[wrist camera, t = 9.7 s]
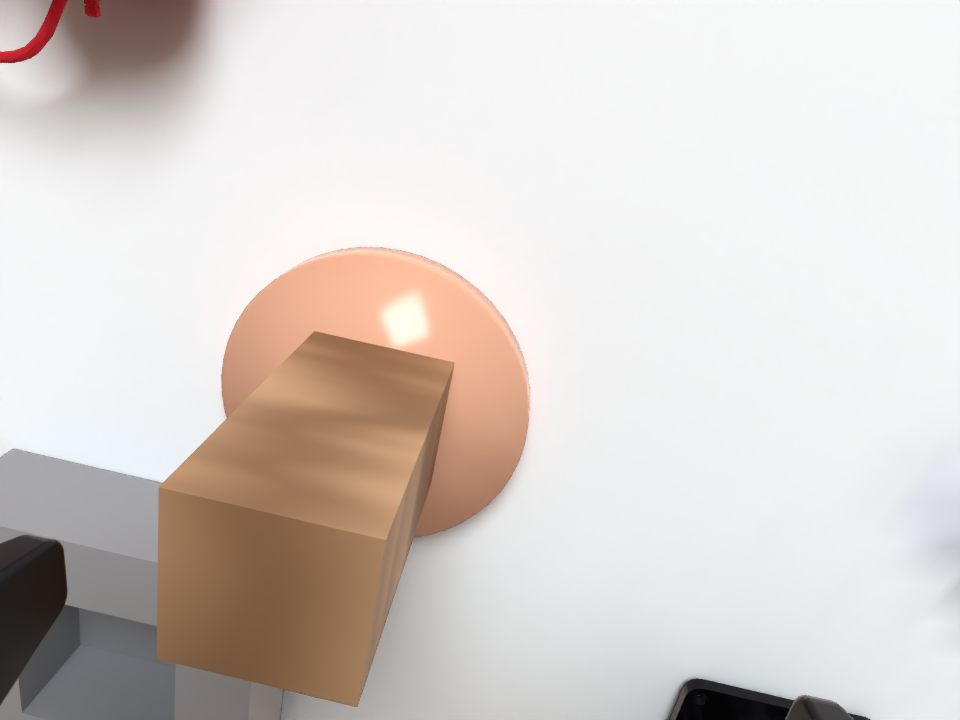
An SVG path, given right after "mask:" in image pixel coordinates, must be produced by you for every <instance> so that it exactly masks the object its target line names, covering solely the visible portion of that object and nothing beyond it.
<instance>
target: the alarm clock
mask: <svg viewBox="0 0 960 720" xmlns="http://www.w3.org/2000/svg"><path fill="white" fill-rule="evenodd" d="M66 3H67V0H53V2H52V4H51V6H50V9H49V11H48V14H47V16H46V18H45V21H44V23H43V25H42V26H41V28H40V30H39V32H38V33H37V35H36V37H35V38H34V39H32V40H31V41H30V42H29V43H28V44H27V45H26V46H25V47H22V48H20V49H17V50H14V51H6V52H0V63H15V62H21V61H24V60H27V59H30V58H32V57H33V56H35V55H36V54H38V53H39V52H40V51H41V50H42V48H43V47H44V46H45V45H46V44H47V42H48V41H49V40H50V39H51V37H52V36H53V34H54V32H55V29H56V27H57V24H58V22H59V20H60V17H61V15H62V12H63V10H64V8H65V5H66ZM84 3H85V4H86V5H85V13H86V14H87V15H88V16H89V17H95V18H97V17H99V16H100V8H99V0H84Z"/></svg>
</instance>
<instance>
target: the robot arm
mask: <svg viewBox="0 0 960 720" xmlns="http://www.w3.org/2000/svg"><path fill="white" fill-rule="evenodd" d="M67 594H68V587H67V577H66V566H65V556H64V548H63V545H62V544H61V542H60V541H58V540H56V539H53V538H49V537H44V536H39V535H34V534H23V535H20V536H17V537H15V538H12V539H9V540H7V541H4V542H2V543H0V706H1V704H2V703H3V701H4V700H5V698H6V696H7V695H8V693H9V692H10V690H11V689H12V687H13V686H14V684H15V683H16V681H17V680H18V678H19V677H20V675H21V673H22V672H23V670H24V669H25V667H26V666H27V664H28V663H29V661H30V660H31V658H32V657H33V655H34V653H35V652H36V650H37V649H38V647H39V646H40V644H41V643H42V641H43V640H44V638H45V637H46V635H47V634H48V632H49V630H50V629H51V627H52V626H53V624H54V623H55V621H56V620H57V618H58V617H59V615H60V613H61V612H62V610H63V608H64V605H65V603H66V599H67ZM697 694H703V695H700V696H698V695H697ZM670 720H870V719H868V718H866V717H862V716H858V715H853V714H849V713H847V712H846V711H845V710H844V709H843V708H842V707H841V706H840V705H839V704H837V703H836V702H833V701H831V700H826V699H821V698H817V697H812V696H807V695H802V696H799V697H798V698H796V699H795V701H793V700H789V699H785V698H781V697H776V696H772V695H768V694H763V693H759V692H755V691H751V690H746V689H742V688H738V687H733V686H729V685H725V684H721V683H716V682H712V681H708V680H703V679H693V680H690V681H688V682H687V683H686V684H685V685H684V687H683V689H682V691H681V694H680V696H679V698H678V701H677V703H676V706H675V708H674V710H673V713H672V715H671V718H670Z"/></svg>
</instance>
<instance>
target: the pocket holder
mask: <svg viewBox="0 0 960 720" xmlns="http://www.w3.org/2000/svg"><path fill="white" fill-rule="evenodd" d="M161 484H162V483H160V482H156V481H152V480H147V479H143V478H139V477H134V476H130V475H126V474H121V473H117V472H112V471H108V470H104V469H99V468H95V467H91V466H86V465H82V464H78V463H73V462H69V461H65V460H60V459H56V458H52V457H47V456H43V455H39V454H34V453H30V452H25V451H21V450H17V449H12V450H10V451H9V452H7V453H6V454H4V455H3V456H1V457H0V543H2V542H4V541H7V540H9V539H12V538H15V537H17V536H20V535H23V534H34V535H39V536H44V537H49V538H53V539H56V540H58V541H60V542H61V544H62V545H63V548H64V556H65V566H66V577H67V587H68V594H67V599H66V603H65V605H64V608H63V610H62V612H61V613H60V615H59V617H58V618H57V620H56V621H55V623H54V624H53V626H52V627H51V629H50V630H49V632H48V634H47V635H46V637H45V638H44V640H43V641H42V643H41V644H40V646H39V647H38V649H37V650H36V652H35V653H34V655H33V657H32V658H31V660H30V661H29V663H28V664H27V666H26V667H25V669H24V670H23V672H22V673H21V675H20V677H19V678H18V680H17V681H16V683H15V684H14V686H13V687H12V689H11V690H10V692H9V693H8V695H7V696H6V698H5V700H4V701H3V703H2V704H1V706H0V720H280V717H281V708H282V698H283V689H279V688H275V687H271V686H267V685H263V684H259V683H254V682H250V681H246V680H242V679H238V678H234V677H230V676H225V675H221V674H217V673H213V672H209V671H205V670H200V669H196V668H192V667H188V666H184V665H180V664H175V663H171V662H167V661H163V660H159V659H157V587H158V497H159V486H160V485H161Z"/></svg>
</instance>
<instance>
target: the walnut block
mask: <svg viewBox="0 0 960 720" xmlns="http://www.w3.org/2000/svg"><path fill="white" fill-rule="evenodd" d="M454 363H455V362H450V361H446V360H441V359H437V358H432V357H428V356H423V355H419V354H415V353H410V352H406V351H401V350H397V349H392V348H388V347H383V346H379V345H374V344H370V343H365V342H361V341H357V340H352V339H348V338H343V337H339V336H334V335H330V334H325V333H321V332H316V331H314V332H313V333H312V334H311V335H310V336H309V337H308V338H307V339H306V340H305V341H304V342H303V343H302V344H301V345H300V346H299V347H298V348H297V349H296V350H295V351H294V352H293V353H292V354H291V355H290V356H289V357H288V358H287V359H286V360H285V361H284V362H283V363H282V364H281V365H280V366H279V367H278V368H277V369H276V370H275V371H274V372H273V373H272V374H271V375H270V376H269V377H268V378H267V379H266V380H265V381H264V382H263V383H262V384H261V385H260V386H259V387H258V388H257V389H256V390H255V391H254V392H253V393H252V394H251V395H250V396H249V397H248V398H247V399H246V400H245V401H244V402H243V403H242V404H241V405H240V406H239V407H238V408H237V409H236V410H235V411H234V412H233V413H232V414H231V415H230V416H229V417H228V418H227V419H226V420H225V421H224V422H223V423H222V424H221V425H220V426H219V427H218V428H217V429H216V430H215V431H214V432H213V433H212V434H211V435H210V436H209V437H208V438H207V439H206V440H205V441H204V442H203V443H202V444H201V445H200V446H199V447H198V448H197V449H196V450H195V451H194V452H193V453H192V454H191V455H190V456H189V457H188V458H187V459H186V460H185V461H184V462H183V463H182V464H181V465H180V466H179V467H178V468H177V469H176V470H175V471H174V472H173V473H172V474H171V475H170V476H169V477H168V478H167V479H166V480H165V481H164V482H163V483H162V484H161V485H160V486H159V497H158V587H157V659H159V660H163V661H167V662H171V663H175V664H180V665H184V666H188V667H192V668H196V669H200V670H205V671H209V672H213V673H217V674H221V675H225V676H230V677H234V678H238V679H242V680H246V681H250V682H254V683H259V684H263V685H267V686H271V687H275V688H279V689H284V690H288V691H292V692H296V693H300V694H304V695H309V696H313V697H317V698H321V699H325V700H329V701H333V702H338V703H342V704H346V705H350V706H354V707H358V704H359V701H360V697H361V694H362V691H363V688H364V685H365V682H366V679H367V676H368V673H369V670H370V667H371V664H372V661H373V658H374V655H375V652H376V649H377V646H378V643H379V640H380V637H381V634H382V631H383V628H384V625H385V622H386V619H387V616H388V613H389V609H390V606H391V603H392V600H393V597H394V594H395V591H396V588H397V585H398V582H399V579H400V576H401V573H402V570H403V567H404V564H405V561H406V558H407V555H408V552H409V549H410V546H411V543H412V540H413V537H414V534H415V531H416V528H417V525H418V521H419V518H420V515H421V512H422V509H423V506H424V503H425V500H426V497H427V494H428V491H429V488H430V485H431V481H432V476H433V471H434V466H435V461H436V456H437V450H438V445H439V440H440V435H441V430H442V425H443V420H444V415H445V409H446V404H447V399H448V394H449V389H450V384H451V379H452V373H453V368H454Z"/></svg>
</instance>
